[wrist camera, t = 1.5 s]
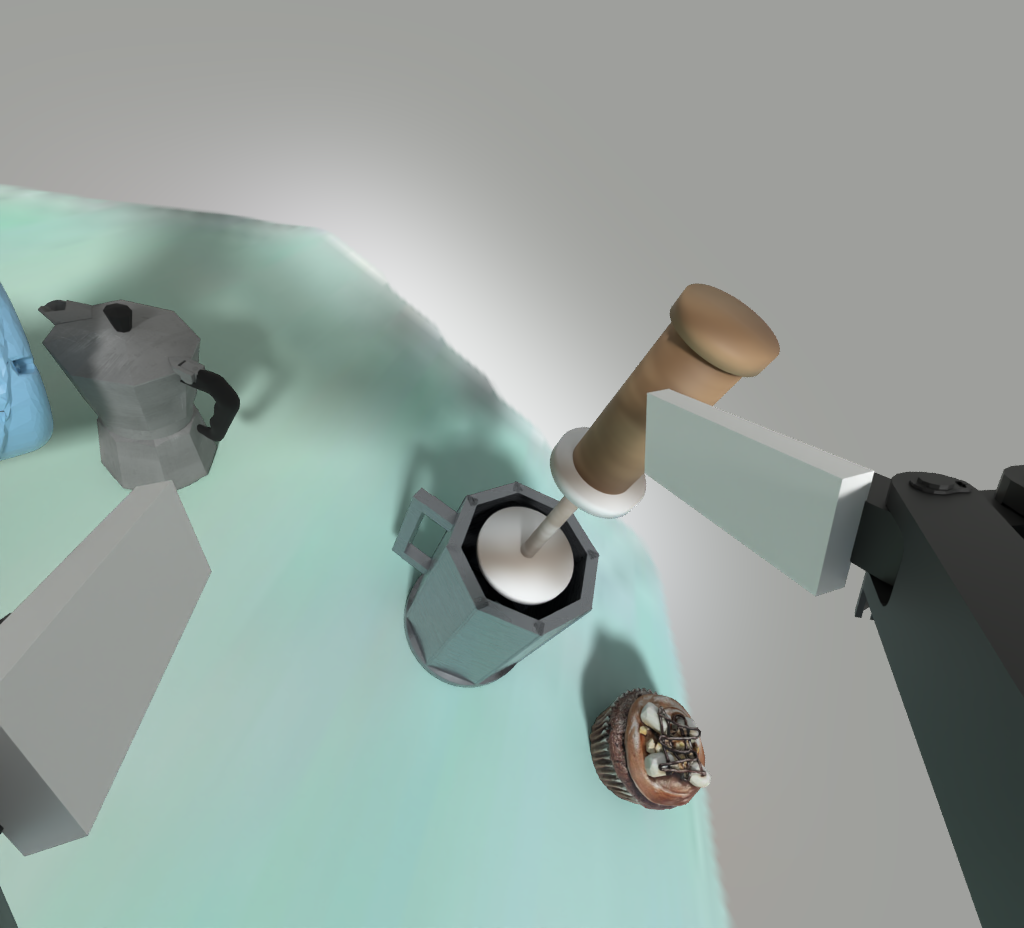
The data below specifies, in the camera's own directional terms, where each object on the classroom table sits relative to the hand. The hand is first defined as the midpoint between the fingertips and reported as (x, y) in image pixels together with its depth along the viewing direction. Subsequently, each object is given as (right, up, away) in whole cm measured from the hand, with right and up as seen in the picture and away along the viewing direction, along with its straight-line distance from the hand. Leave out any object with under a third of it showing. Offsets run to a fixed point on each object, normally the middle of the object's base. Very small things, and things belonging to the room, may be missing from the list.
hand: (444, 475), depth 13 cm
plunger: (+3, -7, +24) cm, 25 cm away
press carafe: (-3, -15, +36) cm, 39 cm away
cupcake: (+13, -28, +33) cm, 46 cm away
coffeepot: (-32, 0, +34) cm, 46 cm away
